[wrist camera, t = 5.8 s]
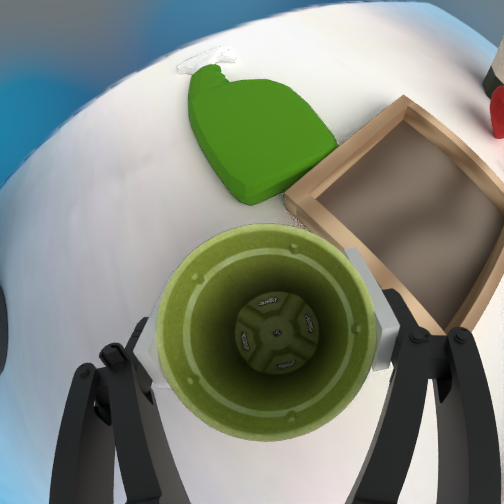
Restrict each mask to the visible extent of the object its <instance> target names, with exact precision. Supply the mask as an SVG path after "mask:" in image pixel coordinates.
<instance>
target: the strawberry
mask: <svg viewBox="0 0 504 504" xmlns="http://www.w3.org/2000/svg"><path fill="white" fill-rule="evenodd" d="M490 114H491V122H492V127H493V134H494V136H495V137H496V138H497V139H502V138H504V86H498V87H497V88H496V89H495V91H494V92H493V93H492V97H491V102H490Z"/></svg>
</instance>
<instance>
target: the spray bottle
mask: <svg viewBox="0 0 504 504" xmlns="http://www.w3.org/2000/svg"><path fill="white" fill-rule="evenodd" d="M228 50H229V48H228V46H227V45H226V44H225V45H222V46H220V47H216V48H213V49H211V50H208V51H206V52H204V53H201V54H199V55H197V56H195V57H192V58H190V59H188V60H186V61H184V62H183V63H182V64H180V65H179V66H177V69H178V71H179V73H180V74H183V73H189V74H192V77H191V81H190V87H189V94H188V112H189V120H190V123H191V127H192V130H193V132H194V134H195V136H196V138H197V141H198V143H199V145H200V147H201V150H202V151H203V153H204V154H205V156H206V158H207V159H208V161H209V163H210V164H211V166H212V168H213V169H214V171H215V172H216V174H217V175H218V176H219V178H220V179H221V180H222V182H223V183H224V184H225V186H226V187H227V189H228V190H229V191H230V193H231V194H232V195H233V196H234V197H235V198H236V199H238V200H239V201H240V202H242V203H245V204H248V205H254V204H257V203H260V202H262V201H264V200H266V199H268V198H270V197H272V196H274V195H276V194H278V193H281V192H283V191H285V190H287V189H289V188H290V187H292V186H293V185H294V184H295V183H296V182H297V181H299V180H300V179H301V178H302V177H303V176H304V175H306V174H307V173H308V172H309V171H310V170H312V169H313V168H314V167H315V166H316V165H318V164H319V163H320V162H321V161H322V160H323V159H325V158H326V157H327V156H328V155H329V154H331V153H332V152H333V151H334V150H335V149H337V148H338V147H339V146H338V144H337V142H336V140H335V138H334V136H333V134H332V133H331V132H330V130H329V129H328V128H327V126H326V125H325V124H324V123H323V121H322V120H321V119H320V118H319V116H318V115H317V114H316V113H315V111H314V110H313V109H312V108H311V106H310V105H309V104H308V103H307V102H306V101H305V100H304V99H302V98H301V97H300V96H299V95H298V94H297V93H296V92H295V91H293V90H292V89H291V88H290V87H288V86H286V85H284V84H281V83H278V82H275V81H271V80H268V79H254V80H239V81H234V82H229V81H228V80H227V79H225V75H223V74H222V73H221V68H220V66H218V65H216V64H215V63H216V62H218V61H226V62H237V59H236V58H230V57H227V56H224V55H221V54H222V53H224V52H226V51H228Z"/></svg>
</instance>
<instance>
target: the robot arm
mask: <svg viewBox="0 0 504 504" xmlns="http://www.w3.org/2000/svg"><path fill="white" fill-rule="evenodd" d="M344 255H345V256H346V257H347V258H348V260H349V261H350V262H351V263H352V264H353V265H354V267H355V268H356V269H357V270H358V272H359V273H360V275H361V277H362V279H363V280H364V282H365V284H366V286H367V289H368V291H369V293H370V296H371V298H372V301H373V305H374V309H375V311H374V313H375V321H376V329H377V342H376V350H375V355H374V360H373V363H372V369H373V372H374V371H378V370H383V369H387V368H389V366H390V362H392V364H393V367H394V369H393V372H392V375H391V378H390V381H389V382H390V384H389V388H388V391H387V395H386V399H385V402H384V406H383V409H382V412H381V416H380V419H379V422H378V425H377V428H376V431H375V434H374V437H373V440H372V442H371V445H370V448H369V450H368V453H367V456H366V458H365V461H364V463H363V465H362V468H361V470H360V472H359V475H358V477H357V479H356V481H355V484H354V486H353V488H352V490H351V492H350V494H349V496H348V498H347V500H346V502H345V504H397V501H398V498H399V495H400V492H401V490H402V487H403V484H404V481H405V478H406V475H407V472H408V469H409V466H410V463H411V459H412V456H413V452H414V449H415V445H416V441H417V437H418V433H419V429H420V424H421V419H422V414H423V409H424V404H425V398H426V391H427V384H428V379H432V381H433V388H434V396H435V405H436V415H437V429H438V459H439V461H438V491H437V503H436V504H501V466H500V452H499V442H498V434H497V427H496V421H495V415H494V410H493V405H492V400H491V395H490V391H489V387H488V383H487V379H486V375H485V372H484V368H483V365H482V361H481V358H480V355H479V352H478V349H477V346H476V343H475V340H474V337H473V335H472V333H471V332H470V331H469V330H468V329H467V328H464V327H459V326H457V327H453V328H452V329H451V330H450V331H449V333H448V335H431V334H430V332H429V331H428V330H427V329H425V328H423V327H420V326H419V325H418V323H417V322H416V320H415V318H414V316H413V315H412V313H411V311H410V310H409V308H408V307H407V304H406V303H405V301H404V299H403V298H402V296H401V295H400V293H399V292H397V291H396V290H395V289H393V288H390V289H384V290H381V289H380V287H379V285H378V283H377V282H376V280H375V278H374V276H373V274H372V273H371V271H370V269H369V268H368V266H367V264H366V262H365V261H364V259H363V257H362V256H361V254H360V252H359V251H358V249H357V248H356V247H354V248H347V249H344ZM174 272H175V271H173V272H172V274H171V275H170V277H169V279H168V281H169V280H170V278H171V276H172V275H173V273H174ZM168 281H167V283H168ZM167 283H166V285H165V287H164V289H163V291H162V293H161V295H160V297H159V299H158V301H157V302H156V304H155V306H154V308H153V310H152V312H151V315H150V317H144V318H143V319H142V320H141V321H140V322H139V323H138V324H137V325H136V327H135V329H134V332H133V333H132V335H131V337H130V339H129V341H128V343H127V345H126V347H125V349H124V348H123V346H122V345H121V344H119V343H111V344H109V345H107V346H105V347H104V348H103V349H102V350H101V352H100V354H99V358H100V359H101V360H102V362H103V363H104V365H105V366H106V367H103V368H98V369H96V367H95V366H94V365H93V364H92V363H84V364H82V365H81V366H79V367H78V368H77V369H76V371H75V374H74V377H73V380H72V383H71V387H70V390H69V394H68V398H67V401H66V405H65V409H64V413H63V417H62V421H61V426H60V430H59V435H58V440H57V445H56V451H55V457H54V463H53V470H52V477H51V486H50V497H49V504H113V489H114V460H115V446H116V451H117V457H118V462H119V467H120V471H121V476H122V480H123V484H124V488H125V492H126V496H127V502H126V503H125V504H191V503H190V500H189V498H188V496H187V493H186V491H185V489H184V486H183V484H182V481H181V478H180V476H179V473H178V470H177V468H176V465H175V462H174V459H173V457H172V454H171V451H170V448H169V445H168V441H167V438H166V435H165V432H164V429H163V425H162V422H161V418H160V415H159V411H158V407H157V404H156V400H155V396H154V392H153V390H152V389H151V384H152V381H153V382H154V384H155V385H156V386H157V388H170V389H171V386H170V384H169V383H168V381H167V378H166V376H165V374H164V371H163V369H162V366H161V362H160V359H159V354H158V348H157V339H156V321H157V313H158V309H159V304H160V301H161V298H162V295H163V292H164V290H165V288H166V286H167ZM6 352H7V314H6V306H5V300H4V296H3V292H2V289H1V287H0V374H1V373H2V370H3V368H4V364H5V359H6ZM94 401H95V405H94Z"/></svg>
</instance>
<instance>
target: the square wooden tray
mask: <svg viewBox="0 0 504 504" xmlns="http://www.w3.org/2000/svg"><path fill="white" fill-rule="evenodd" d="M284 197H285V207H286V209H287V210H288V211H289V212H290V213H291V214H293V215H294V216H295V217H296V218H297V219H298V220H299V221H300V222H301V223H302V224H303V225H304V226H305V227H306V228H307V229H308V230H310V231H311V232H312V233H313V234H315V235H317V236H319V237H321V238H323V239H325V240H326V241H328V242H329V243H330V244H332V245H333V246H335V247H336V248H337V249H338V250H340V251H341V252H342V253H343V254H344V249H347V248H354V247H356V248H357V249H358V251H359V252H360V254H361V256H362V257H363V259H364V261H365V262H366V264H367V266H368V268H369V269H370V271H371V273H372V274H373V276H374V278H375V280H376V282H377V283H378V285H379V287H380V289H381V290H384V289H390V288H393V289H395V290H396V291H397V292H399V293H400V295H401V296H402V298H403V299H404V301H405V303H406V304H407V307H408V308H409V310H410V311H411V313H412V315H413V316H414V318H415V320H416V322H417V323H418V325H419V326H420V327H423V328H425V329H427V330H428V331H429V332H430V334H431V335H448V333H449V331H450V330H451V329H452V328H453V327H457V326H459V327H464V328H467V329H468V330H469V331H470V332H472V331H473V329H474V327H475V326H476V324H477V323H478V321H479V319H480V318H481V316H482V314H483V312H484V311H485V309H486V307H487V305H488V304H489V302H490V300H491V298H492V296H493V294H494V292H495V290H496V288H497V286H498V284H499V282H500V280H501V278H502V276H503V274H504V183H503V182H502V181H501V180H500V179H499V177H498V176H497V175H496V174H495V173H494V172H493V171H492V170H491V169H490V168H489V166H488V165H487V164H486V163H485V162H484V161H483V160H482V159H481V158H480V157H479V156H478V155H477V154H476V153H475V152H474V151H473V150H472V149H471V148H470V147H468V146H467V145H466V144H465V143H464V142H463V141H462V140H461V139H460V138H459V137H458V136H456V135H455V134H454V133H453V132H452V131H451V130H449V129H448V128H447V127H446V126H445V125H444V124H442V123H441V122H440V121H439V120H437V119H436V118H435V117H434V116H432V115H431V114H430V113H428V112H427V111H426V110H424V109H423V108H422V107H420V106H419V105H418V104H416V103H415V102H413V101H412V100H411V99H409V98H408V97H406V96H405V95H402V96H401V97H400V98H399V99H397V100H396V101H395V102H393V103H392V104H391V105H390V106H388V107H387V108H386V109H385V110H383V111H382V112H381V113H380V114H378V115H377V116H376V117H375V118H373V119H372V120H371V121H370V122H368V123H367V124H366V125H365V126H364V127H362V128H361V129H360V130H359V131H357V132H356V133H355V134H354V135H352V136H351V137H350V138H349V139H348V140H346V141H345V142H344V143H343V144H342V145H340V146H339V147H338V148H337V149H335V150H334V151H333V152H332V153H331V154H329V155H328V156H327V157H326V158H325V159H323V160H322V161H321V162H320V163H319V164H318V165H316V166H315V167H314V168H313V169H312V170H310V171H309V172H308V173H307V174H306V175H304V176H303V177H302V178H301V179H300V180H299V181H297V182H296V183H295V184H294V185H293V186H292V187H290V188H289V189H288V190H287V191H286V192H284Z"/></svg>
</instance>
